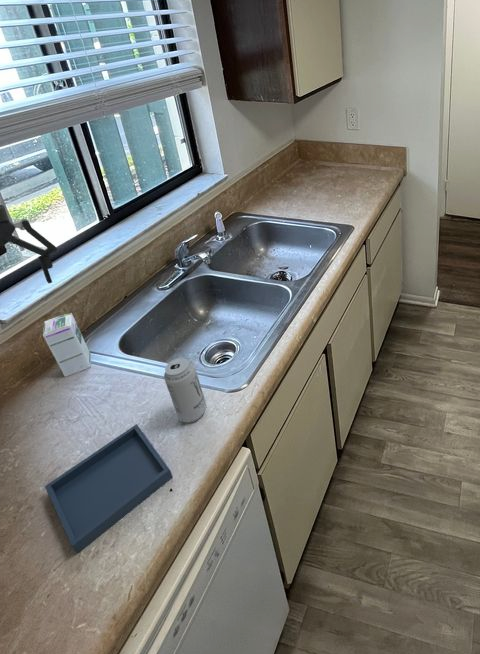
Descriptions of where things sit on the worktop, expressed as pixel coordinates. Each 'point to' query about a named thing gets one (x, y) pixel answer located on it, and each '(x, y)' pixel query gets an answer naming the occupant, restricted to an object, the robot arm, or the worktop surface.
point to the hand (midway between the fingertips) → (13, 293)
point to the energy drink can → (185, 389)
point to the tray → (107, 486)
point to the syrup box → (67, 344)
